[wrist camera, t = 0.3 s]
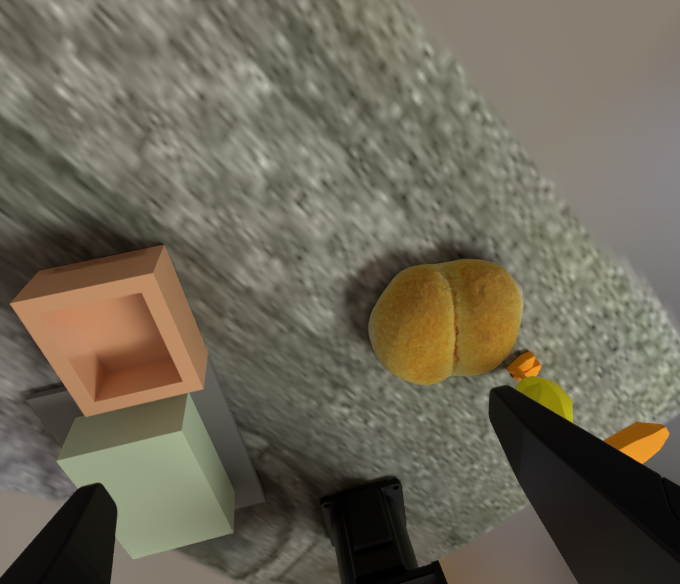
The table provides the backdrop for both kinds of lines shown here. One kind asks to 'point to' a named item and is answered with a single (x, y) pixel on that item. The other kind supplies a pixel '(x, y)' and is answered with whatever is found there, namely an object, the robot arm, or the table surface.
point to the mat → (214, 412)
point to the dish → (115, 329)
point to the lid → (153, 473)
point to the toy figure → (632, 440)
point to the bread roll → (446, 320)
